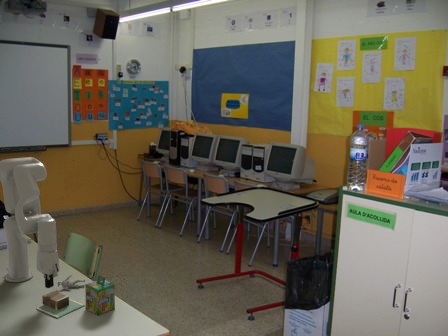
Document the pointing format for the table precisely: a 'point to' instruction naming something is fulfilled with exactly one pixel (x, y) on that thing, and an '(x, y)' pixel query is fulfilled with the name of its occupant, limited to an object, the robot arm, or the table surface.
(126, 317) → the table surface
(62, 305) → the walnut block
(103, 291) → the chalk box
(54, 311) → the mat
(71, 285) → the soldier figure
